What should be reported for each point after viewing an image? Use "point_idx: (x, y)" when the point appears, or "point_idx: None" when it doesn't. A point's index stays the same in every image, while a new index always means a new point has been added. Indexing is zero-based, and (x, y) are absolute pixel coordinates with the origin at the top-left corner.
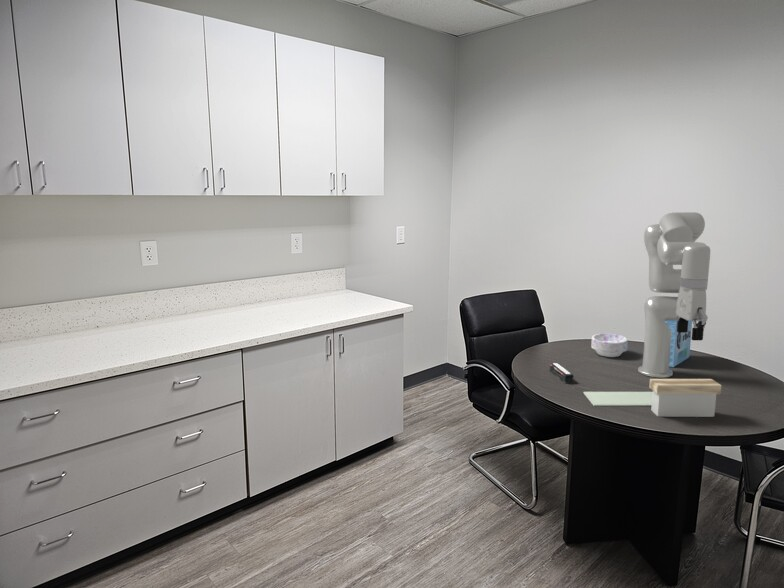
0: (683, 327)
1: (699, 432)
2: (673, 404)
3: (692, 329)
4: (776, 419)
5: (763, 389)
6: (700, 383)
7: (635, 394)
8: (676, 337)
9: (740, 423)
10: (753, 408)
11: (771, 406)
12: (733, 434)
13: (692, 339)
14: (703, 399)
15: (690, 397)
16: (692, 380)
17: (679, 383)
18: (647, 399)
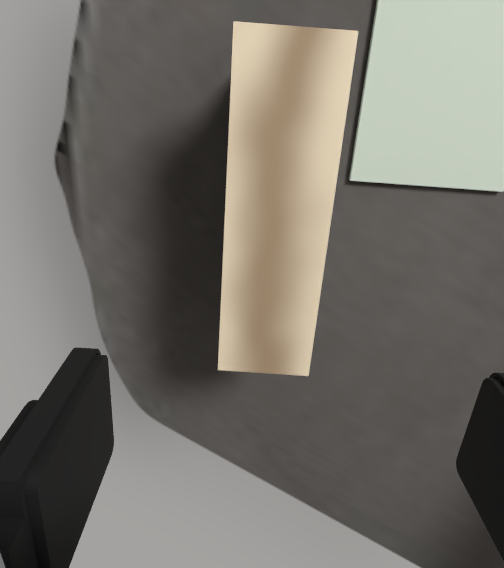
0: (498, 477)
1: (92, 155)
2: None
3: (26, 452)
4: (206, 446)
5: (430, 539)
6: (249, 293)
7: (501, 72)
8: None
9: (176, 337)
10: (292, 437)
11: (301, 487)
12: (86, 266)
13: (74, 350)
14: None
15: None
16: (296, 278)
17: (257, 184)
18: (428, 103)
